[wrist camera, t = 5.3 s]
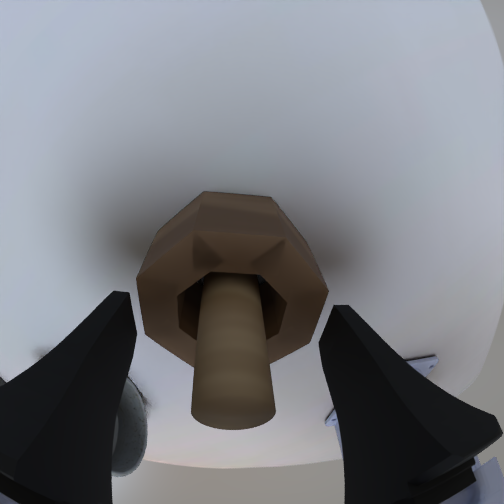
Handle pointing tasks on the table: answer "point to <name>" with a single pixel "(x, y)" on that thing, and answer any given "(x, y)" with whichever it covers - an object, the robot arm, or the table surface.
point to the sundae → (2, 382)
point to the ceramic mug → (129, 432)
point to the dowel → (231, 355)
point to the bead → (231, 261)
